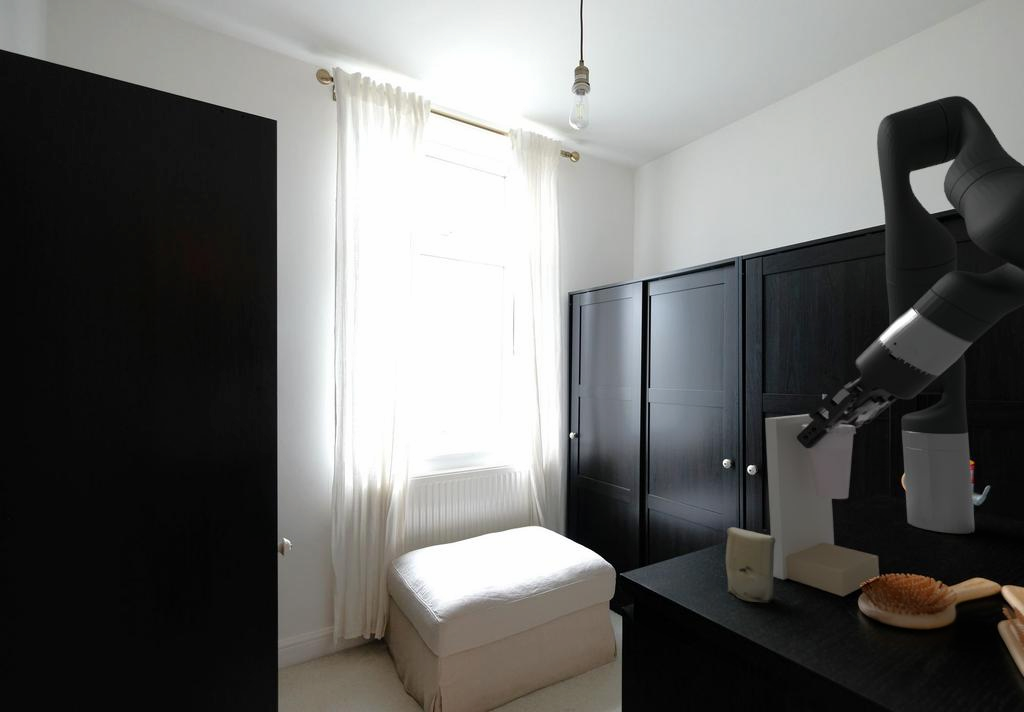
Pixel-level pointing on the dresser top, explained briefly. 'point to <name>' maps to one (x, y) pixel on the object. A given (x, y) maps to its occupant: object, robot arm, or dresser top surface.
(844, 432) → the smoothie
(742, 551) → the cream rounded block
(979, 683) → the dresser top surface
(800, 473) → the wall board
